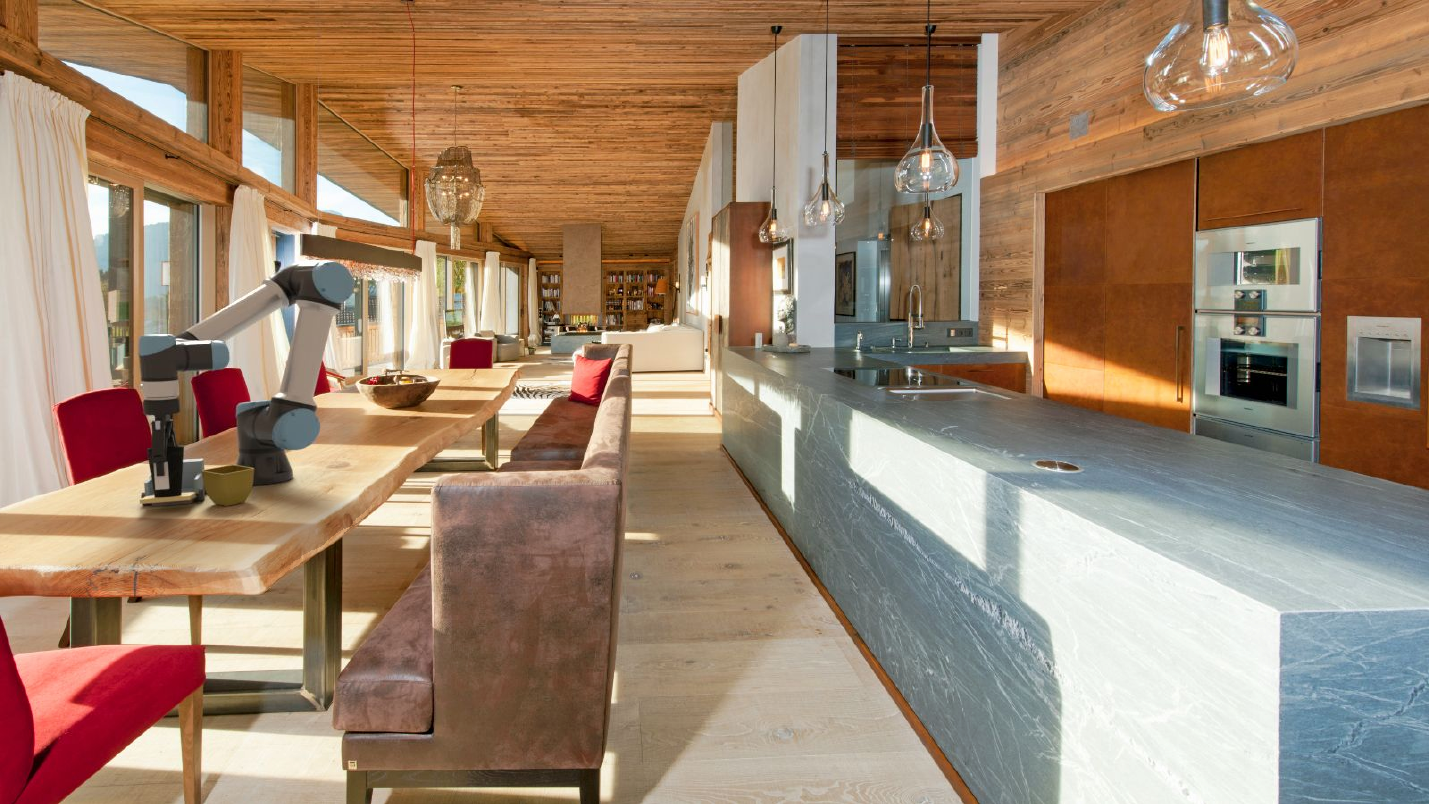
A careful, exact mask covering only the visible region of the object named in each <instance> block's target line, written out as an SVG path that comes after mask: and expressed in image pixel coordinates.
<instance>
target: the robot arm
mask: <svg viewBox="0 0 1429 804" xmlns="http://www.w3.org/2000/svg"><path fill="white" fill-rule="evenodd" d="M354 289H355V281H354V277H353V275H352V274H351V272H350V270H349V268H348V267H347V266H345V265H344V264H342V263H341V262H338V261H336V260H335V261H334V260H328V259H321V260H300V261H296V262H294V263H291V264H289V265H288V266H286V267H284V268H282V269H280V270H279V271H277V272H275V273H273V274H272V275H270V276H269V277H267V278H265V279H264V280H262V282H261V286H258V287H257V288H256V289H253V290H252V291H251V292H249V293H247V294H245V295H244V296H242V297H240V298H238V299H236V300H235V301H233V302H232V303H230V304H228V305H226V306H225V307H223V308H222V309H220V310H218V311H216V312H215V313H213V314H211V315H210V316H208V317H205V318H204V319H202V320H201V321H198V322H197V323H196V324H193V326H191V327H189V328H188V329H186V330H184V331H181V332H180V333H178V334H176V335H174V334H170V333H168V334H167V333H162V334H161V333H157V334H155V333H154V334H152V333H151V334H150V333H149V334H142V335H140V336H139V337H138V343H137V344H138V349H137V350H138V353H137V355H138V360H139V369H140V381H141V384H138V389H142V390H141V393H142V394H141V395H142V397H143V398H144V399H143V400H142V413H143V414H144V415H145V416H154V420H151V423H150V425H151V448H152V458H151V460H149V459H148V464H149V463H153V464H154V477H155V490H160V489H169V476H168V463H167V462H166V454H167V447H172V446H179V444H178V441H177V436H176V429H175V422H174V415H176V414H178V413H180V412H181V405H180V404H181V402H180V398H178V397H179V395H180V385H179V376H178V375H179V373H185V372H201V371H202V372H205V371H212V372H213V371H216V370H217V371H218V370H224V369H226V367H228V365H229V362H230V350H229V347H228V345H227V344H226V343H225V342H227V341H228V340H230V339H232V338H234V337H235V336H236V335H238V334H240V333H241V332H243V331H244V330H246V329H248V328H249V327H252V326H253V325H254V324H256V323H257V322H260V321H261V320H263V319H264V318H266V317H268V316H269V315H271V314H272V313H274V312H276V311H277V310H279V309H281V310H286V309H288V308H289V307H292V306H293V305H295V304H296V305H297V307H298V308H299V311H298V316H297V319H296V323H295V327H294V332H293V335H292V340H291V343H290V347H289V351H288V355H287V359H286V364H285V366H284V372H283V376H282V379H281V383H280V388H279V391H278V392H277V393H275V394H274V395H272V396H271V399H267V400H255V401H245V402H239V403H238V404H237V405H236V408H235V410H236V411H235V418H236V432H237V446H238V458H237V460H236V463H235V465H238V466H245V467H251V468H254V478H253V486H262V485H272V484H273V485H274V484H277V483H282V482H287V481H290V480H292V479H293V478H294V472H293V471H294V470H293V467H292V466H291V462H290V461H289V458H288V456H287V454H286V451H300V450H304V449H306V448H307V447H309V446H311V445H312V444H314V442H315V441H316V440H317V438H318V437H319V434H320V431H321V421H320V420H319V416H318V415H317V414H316V412H317V408H318V404H317V402H315V400H314V396H315V391H316V388H317V383H318V379H319V375H320V371H321V367H322V363H323V358H324V355H325V354H324V353H325V350H326V346H327V341H328V338H329V334H330V329H331V325H332V322H333V317H335V316H336V315H339V314H340V313H341V308H342V305H343V303H344V302H346V301H347V300H349V299H350V298H351V297H352V296H353V293H354V291H355V290H354Z"/></svg>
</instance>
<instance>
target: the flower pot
mask: <svg viewBox="0 0 1429 804" xmlns="http://www.w3.org/2000/svg"><path fill="white" fill-rule="evenodd" d="M201 473H202V478H203V483H204V488H205V491H206V493H205V494H206V496H207V497H208V498H209V500H211V502H212V503H213V504H215V505H220V506H224V507H229V506H233V505H237V504H242V503H245V502H246V500H247V499H248V498H249V496H250V494H251V493H252V489H253V486H254V485H253V478H254V468H251V467H245V466H238V465H236V464H229V465H222V466H219V467H218V466H217V467H212V468H206V469H204V470H202V471H201Z"/></svg>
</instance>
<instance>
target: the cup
mask: <svg viewBox="0 0 1429 804" xmlns="http://www.w3.org/2000/svg"><path fill="white" fill-rule="evenodd" d="M146 452H147V453H146V454H147V459H148V461H149V460H151V458H152V447H149V448H147V449H146ZM184 453H185V446H183V445H180V446H179V445H178V446H172V447H167V454H166V462H167V463H168V476H169V489H160V490H155V477H154V464H153V463H149V462H148V465H149V471H150V476H151V478H152V484H153V490H154V496H155V497H173V496H179V495H182V476H183V460H184Z"/></svg>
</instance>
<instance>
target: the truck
mask: <svg viewBox="0 0 1429 804" xmlns="http://www.w3.org/2000/svg"><path fill="white" fill-rule="evenodd" d="M202 470H205V459H204V458H191V459H190V458H189V459H188V458H186V459H183V476H182V493H190V492H196V496H195V497H194V498H192V499H191V500H182V501H170V502H157V503H152V507H163V506H175V505H187V504H193V502H194V501H195V500H196V501H198V502H200V501H205V497H206V496H205V494H207V493H206V491H205V488H204V483H203V478H202V473H201V471H202ZM143 485H144V486H143V488H144V492H141V495H140V496H141V498H140V499H142V498H144V497H145V496H151V495H154V490H153V484H152V478H151V475H150V476H149V477H148V478H147V479H146V480H145V481H144V482H143ZM149 505H151V503H144V504H141V506H149Z"/></svg>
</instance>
